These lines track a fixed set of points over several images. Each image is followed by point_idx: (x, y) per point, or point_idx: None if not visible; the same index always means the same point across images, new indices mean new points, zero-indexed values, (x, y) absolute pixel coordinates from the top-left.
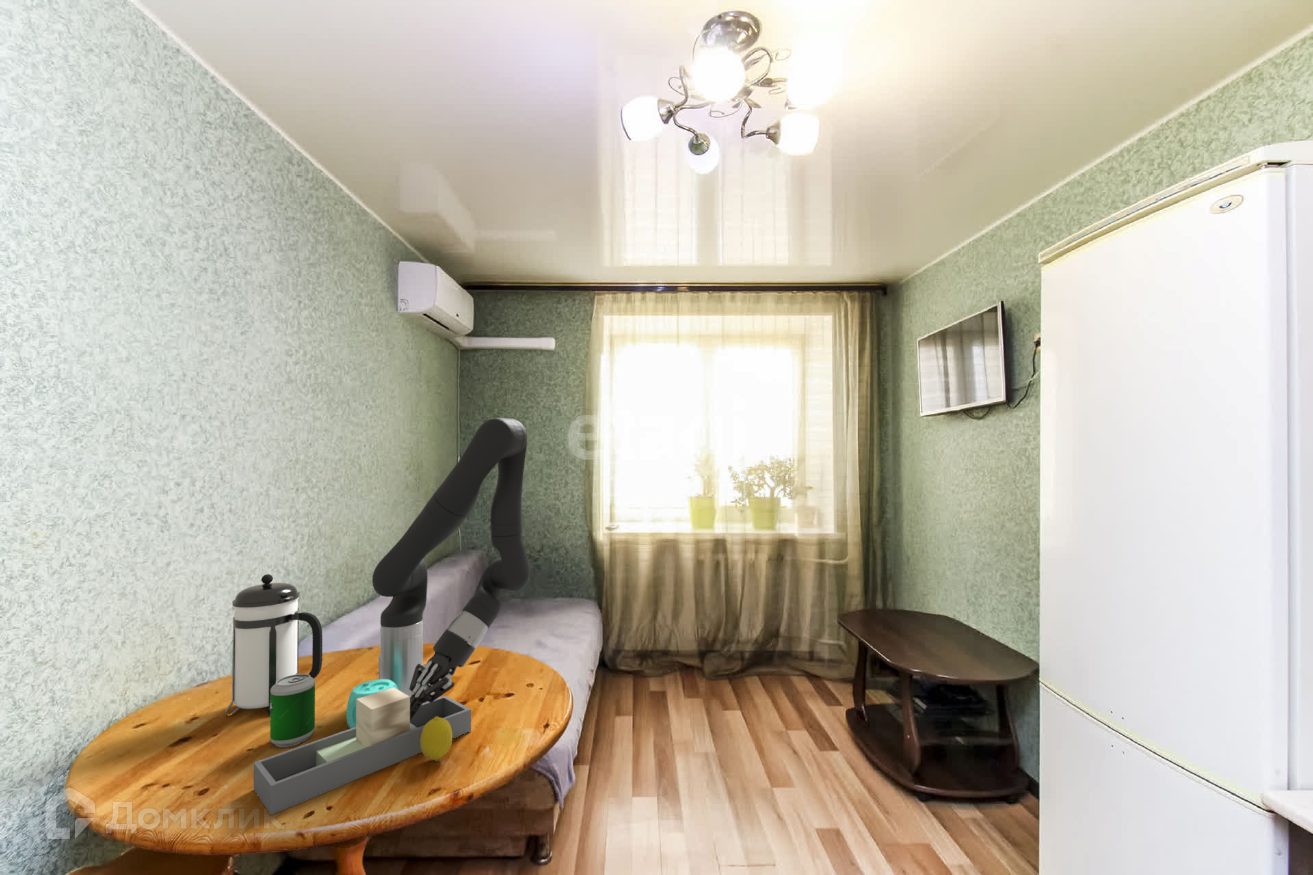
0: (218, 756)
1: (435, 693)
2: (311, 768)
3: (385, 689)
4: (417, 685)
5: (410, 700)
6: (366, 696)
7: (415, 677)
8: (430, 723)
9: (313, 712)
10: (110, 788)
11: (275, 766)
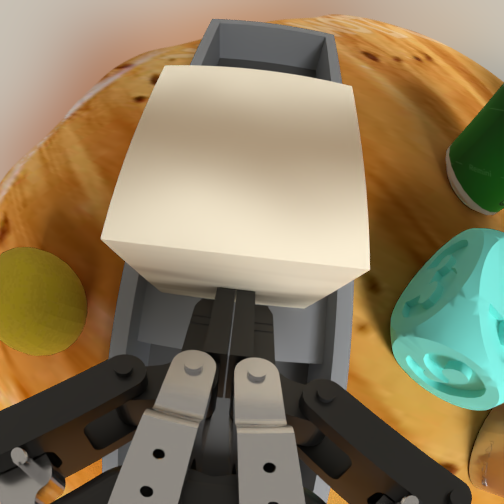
0: (465, 111)
1: (115, 437)
2: (205, 51)
3: (479, 332)
4: (266, 414)
5: (231, 336)
6: (349, 115)
7: (373, 449)
8: (1, 261)
9: (494, 179)
10: (440, 51)
11: (322, 63)
